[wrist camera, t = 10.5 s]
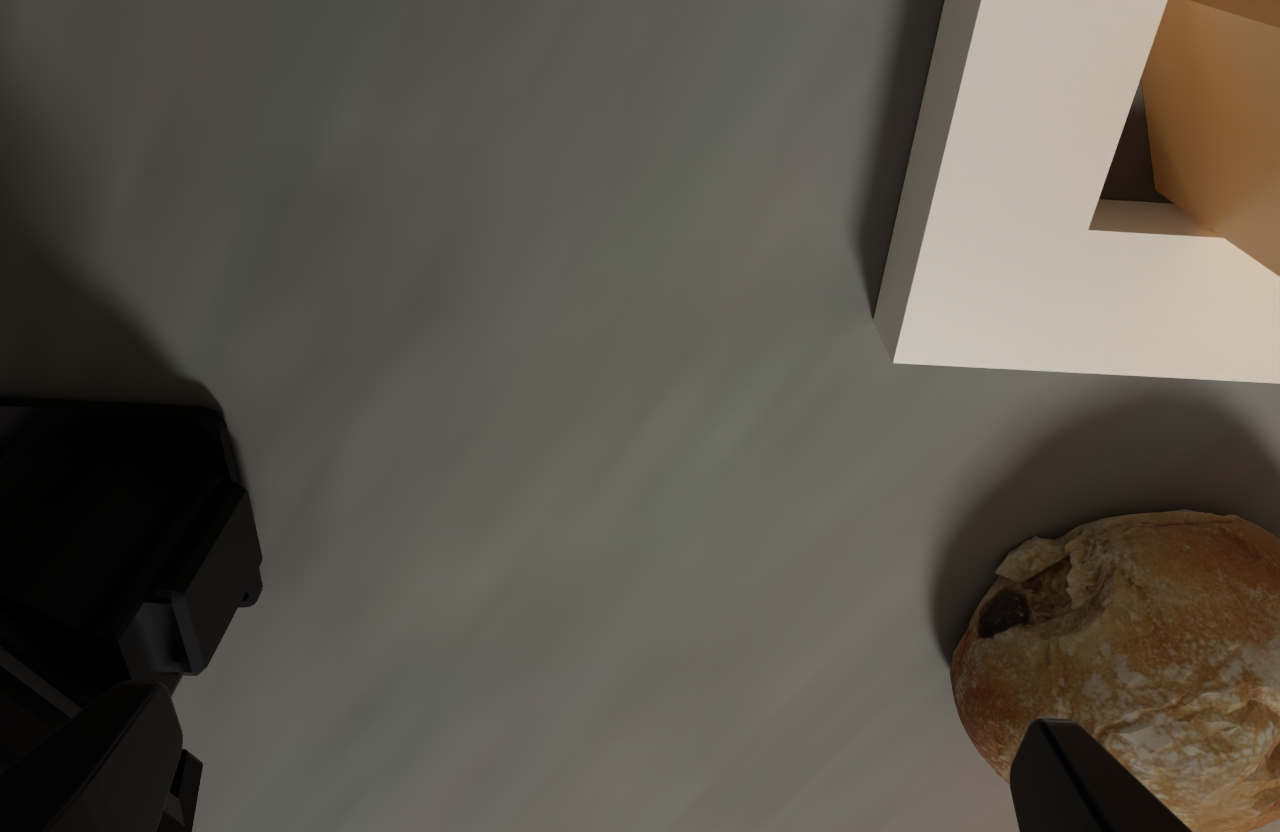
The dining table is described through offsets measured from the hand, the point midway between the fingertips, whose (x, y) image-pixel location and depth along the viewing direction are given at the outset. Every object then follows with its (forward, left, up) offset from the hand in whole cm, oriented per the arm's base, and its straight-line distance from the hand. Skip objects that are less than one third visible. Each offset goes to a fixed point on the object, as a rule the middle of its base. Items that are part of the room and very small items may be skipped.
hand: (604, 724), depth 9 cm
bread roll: (+16, -11, -13) cm, 23 cm away
